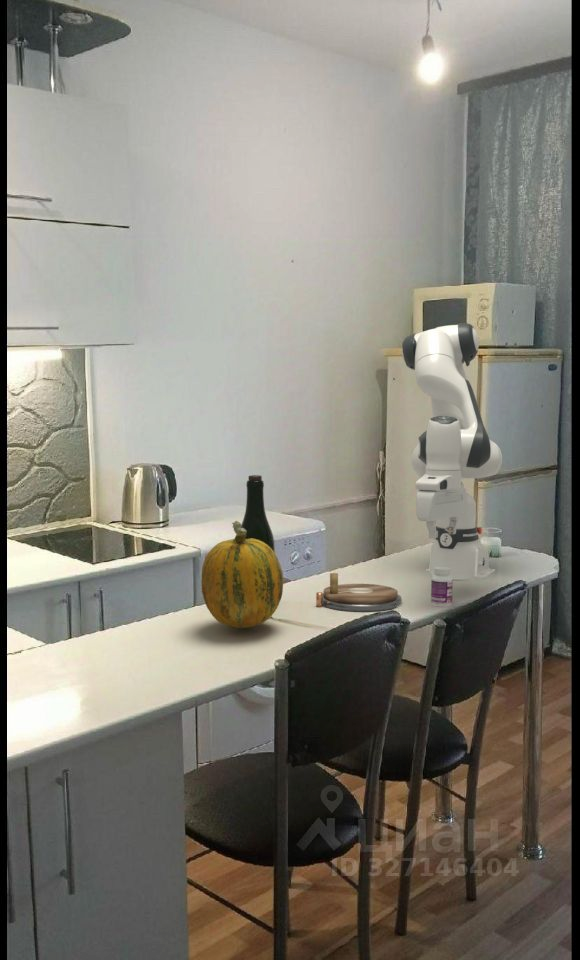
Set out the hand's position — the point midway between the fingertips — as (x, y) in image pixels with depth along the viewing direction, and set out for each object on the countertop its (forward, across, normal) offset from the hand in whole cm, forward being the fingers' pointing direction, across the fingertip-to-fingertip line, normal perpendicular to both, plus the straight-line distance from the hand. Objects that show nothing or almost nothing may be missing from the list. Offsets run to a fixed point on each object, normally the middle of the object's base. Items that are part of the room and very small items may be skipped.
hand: (442, 536), depth 233 cm
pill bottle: (+18, 0, 0) cm, 18 cm away
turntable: (+16, +10, -18) cm, 26 cm away
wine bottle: (+18, +28, -38) cm, 50 cm away
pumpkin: (+18, +46, -27) cm, 56 cm away
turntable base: (+18, +10, -18) cm, 27 cm away
